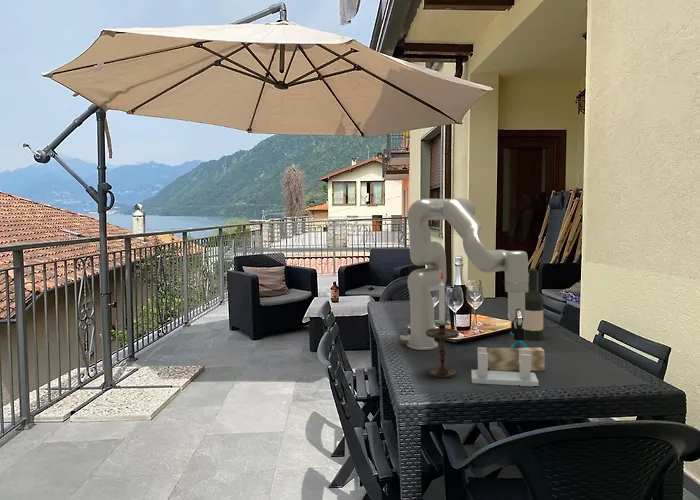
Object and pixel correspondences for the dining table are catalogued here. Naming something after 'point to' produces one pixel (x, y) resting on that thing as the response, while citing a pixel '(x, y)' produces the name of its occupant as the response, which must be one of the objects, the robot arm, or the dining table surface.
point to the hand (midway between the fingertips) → (517, 336)
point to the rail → (513, 359)
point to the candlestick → (442, 337)
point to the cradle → (503, 376)
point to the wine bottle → (533, 310)
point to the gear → (518, 343)
